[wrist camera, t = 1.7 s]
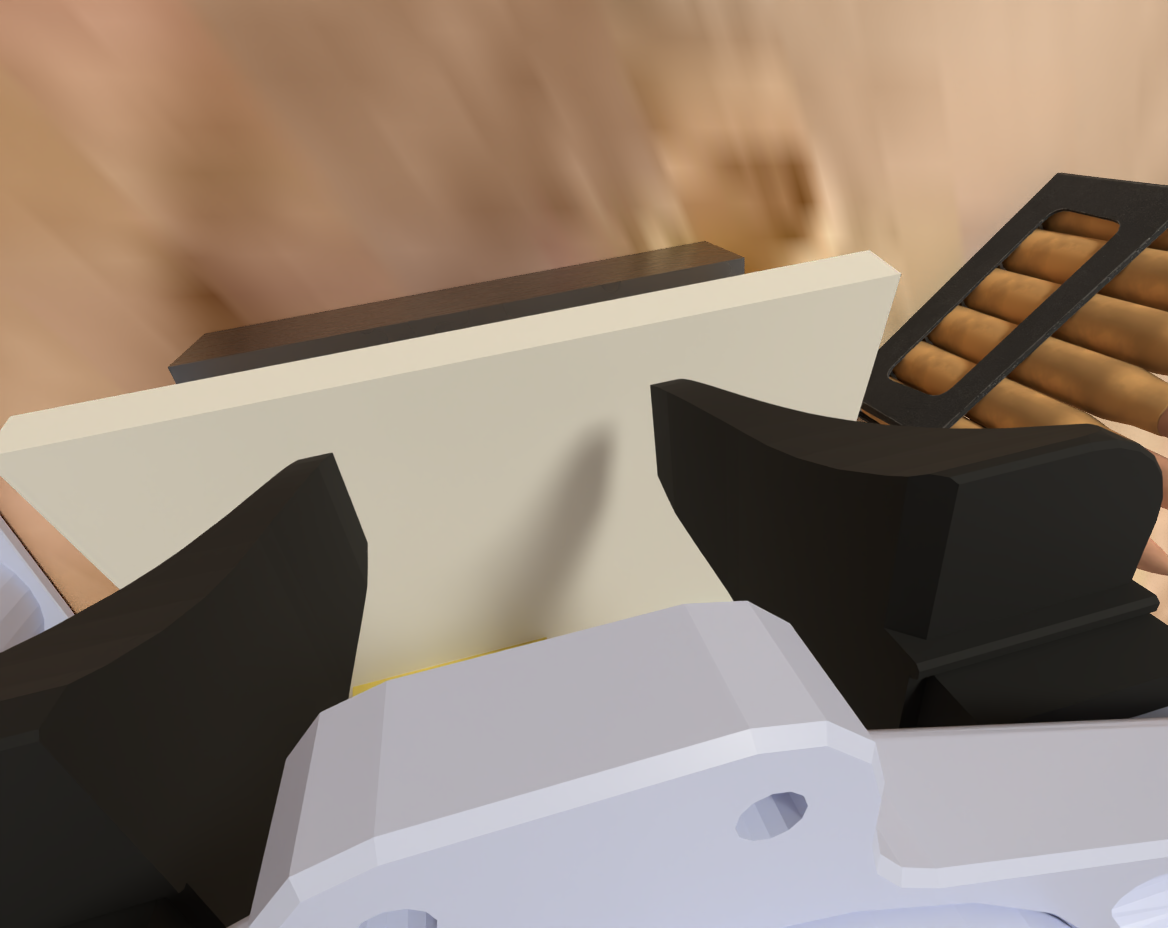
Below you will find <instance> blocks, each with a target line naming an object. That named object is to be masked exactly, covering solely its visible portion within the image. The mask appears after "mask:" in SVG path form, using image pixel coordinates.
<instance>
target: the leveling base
mask: <svg viewBox="0 0 1168 928" xmlns="http://www.w3.org/2000/svg"><path fill="white" fill-rule="evenodd" d="M743 274H744V257H742V256H739V255H737V254H735V253H732V252H730V251H727V250H725V249H723V248H720V247H718V246H715V245H713V244H711V243H708V242H706V241H703V242H698V243H693V244H687V245H682V246H676V247H671V248H666V249H660V250H655V251H649V252H644V253H639V254H633V255H628V256H622V257H617V258H612V259H606V260H601V261H595V262H590V263H585V264H579V265H574V266H568V267H563V268H558V269H552V270H547V271H541V272H536V273H531V274H525V275H520V276H514V277H509V278H504V279H498V280H493V281H487V282H482V283H477V284H471V285H466V286H460V287H455V288H450V289H444V290H439V291H433V292H428V293H423V294H417V295H412V296H406V297H401V298H396V299H390V300H385V301H379V302H374V303H369V304H363V305H358V306H352V307H347V308H342V309H336V310H331V311H325V312H320V313H315V314H309V315H304V316H298V317H293V318H288V319H282V320H277V321H271V322H266V323H261V324H255V325H250V326H244V327H239V328H234V329H228V330H223V331H217V332H212V333H207V334H204V335H203V336H202V337H201V338H199V339H198V340H197V341H196V342H195V343H194V344H193V345H192V346H191V347H190V348H188V349H187V350H186V351H185V352H184V353H183V354H182V355H181V356H180V357H179V358H177V359H176V360H175V361H174V362H173V363H172V364H171V365H170V366H169V367H168V369H169V371H170V372H171V374H172V376H173V378H174V380H175V382H176V384H180V383H185V382H191V381H196V380H201V379H206V378H211V377H216V376H222V375H227V374H232V373H237V372H242V371H247V370H253V369H258V368H263V367H268V366H273V365H278V364H284V363H289V362H294V361H299V360H304V359H309V358H315V357H320V356H325V355H330V354H335V353H340V352H346V351H351V350H356V349H361V348H366V347H371V346H377V345H382V344H387V343H392V342H397V341H402V340H408V339H413V338H418V337H423V336H428V335H433V334H439V333H444V332H449V331H454V330H459V329H464V328H470V327H475V326H480V325H485V324H490V323H495V322H501V321H506V320H511V319H516V318H521V317H526V316H532V315H537V314H542V313H547V312H552V311H557V310H563V309H568V308H573V307H578V306H583V305H588V304H594V303H599V302H604V301H609V300H614V299H619V298H624V297H630V296H635V295H640V294H645V293H650V292H655V291H661V290H666V289H671V288H676V287H681V286H686V285H692V284H697V283H702V282H707V281H712V280H717V279H723V278H728V277H733V276H738V275H743Z"/></svg>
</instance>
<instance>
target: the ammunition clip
mask: <svg viewBox="0 0 1168 928" xmlns="http://www.w3.org/2000/svg"><path fill="white" fill-rule="evenodd" d="M1148 371H1149V372H1148ZM1150 372H1152V373H1156V374H1161V375H1167V376H1168V185H1159V184H1151V183H1142V182H1133V181H1125V180H1116V179H1107V178H1099V177H1091V176H1083V175H1075V174H1067V173H1057V174H1056V175H1055V176H1054V177H1053V178H1052V179H1051V180H1050V181H1049V182H1048V183H1047V184H1046V185H1045V186H1044V187H1043V188H1042V189H1041V190H1040V191H1039V192H1038V193H1037V194H1036V195H1035V196H1034V197H1033V198H1032V199H1031V200H1030V201H1029V202H1028V203H1027V204H1026V205H1025V206H1024V207H1023V208H1022V209H1021V210H1020V211H1019V212H1018V213H1017V214H1016V215H1015V216H1014V217H1013V218H1012V219H1011V220H1010V221H1008V222H1007V223H1006V224H1005V225H1004V226H1003V227H1002V228H1001V229H1000V230H999V231H998V232H997V233H996V234H995V235H994V236H993V237H992V238H991V239H990V240H989V241H988V242H987V243H986V244H985V245H984V246H983V247H982V248H981V249H980V250H979V251H978V252H977V253H976V254H975V255H974V256H973V257H972V258H971V259H970V260H969V261H968V262H967V263H966V264H965V265H964V266H963V267H962V268H961V269H960V270H959V271H958V272H957V273H956V274H955V275H954V276H953V277H952V278H951V279H950V280H949V281H948V282H947V283H946V284H945V285H944V286H943V287H942V288H941V289H940V290H939V291H938V292H937V293H936V294H935V295H934V296H933V297H932V298H931V299H930V300H928V301H927V302H926V303H925V304H924V305H923V306H922V307H921V308H920V309H919V310H918V311H917V312H916V313H915V314H914V315H913V316H912V317H911V318H910V319H909V320H908V321H907V322H906V323H905V324H904V325H903V326H902V327H901V328H900V329H899V330H898V331H897V332H896V333H895V334H894V335H893V336H892V337H891V338H890V339H889V340H888V341H887V342H886V343H885V344H884V345H883V346H882V347H881V348H880V349H879V350H878V352H877V355H876V358H875V362H874V365H873V368H872V372H871V375H870V378H869V381H868V385H867V388H866V391H865V395H864V398H863V401H862V404H861V408H860V411H859V414H858V416H859V417H860V418H861V419H863V420H864V421H866V422H868V423H875V424H885V425H897V426H910V427H926V428H1017V427H1034V426H1051V425H1069V424H1086V423H1087V424H1094V425H1097V426H1101V427H1103V428H1105V429H1107V430H1109V431H1112V432H1114V433H1116V434H1118V435H1121V434H1119V433H1117V432H1115V431H1113V430H1111V429H1109V428H1108V427H1107V426H1105V425H1104V424H1103V423H1101V422H1100V421H1098V420H1097V419H1096V418H1094V417H1093V416H1091V415H1090V414H1092V415H1094V416H1097V417H1099V418H1102V419H1106V420H1110V421H1114V422H1119V423H1123V424H1128V425H1132V426H1135V427H1137V428H1140V429H1143V430H1145V431H1148V432H1151V433H1154V434H1156V435H1159V436H1164V437H1167V438H1168V383H1167V382H1165V381H1163V380H1162V379H1160V378H1158V377H1157V376H1155V375H1153V374H1152V373H1150ZM1070 405H1071V406H1070ZM1077 408H1078V409H1077ZM1084 411H1085V412H1084ZM1086 412H1087V413H1086ZM1088 413H1089V414H1088ZM964 416H966V417H968V418H969V419H970V420H969V419H967V418H966V417H964ZM1121 436H1123V435H1121ZM1123 437H1125V436H1123ZM1125 438H1127V437H1125ZM1127 439H1129V438H1127ZM1130 440H1131V439H1130ZM1132 441H1133V440H1132ZM1134 442H1135V441H1134ZM1136 443H1137V442H1136ZM1147 450H1148V451H1150V452H1151V453H1152V454H1154V455H1155V458H1156V460H1157V462H1158V464H1159V466H1160V468H1161V471H1162V475H1163V500H1162V504H1161V507H1162V508H1165V509H1168V459H1167V458H1166V457H1163V456H1161V455H1159V454H1157V453H1155V452H1153V451H1151V450H1149V449H1147ZM1137 568H1138V569H1141V570H1144V571H1148V572H1151V573H1156V574H1161V575H1167V576H1168V555H1167V554H1166V553H1165V552H1164V551H1163V550H1162V549H1161V548H1160V547H1159V546H1158V545H1157V544H1156V543H1155V542H1154V541H1153V540H1152V539H1151V538H1150V537H1149V540H1148V542H1147V545H1146V547H1145V549H1144V552H1143V554H1142V556H1141V559H1140V561H1139V564H1138V566H1137Z"/></svg>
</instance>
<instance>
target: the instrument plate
mask: <svg viewBox="0 0 1168 928" xmlns="http://www.w3.org/2000/svg"><path fill="white" fill-rule="evenodd" d="M900 277H901V273H900V272H899V271H897V270H896V269H894V268H893V267H892V266H890V265H889V264H888V263H886V262H885V261H884V260H882V259H881V258H879V257H878V256H877V255H875V254H874V253H873V252H871V251H870V250H867V251H862V252H857V253H852V254H847V255H841V256H836V257H831V258H826V259H821V260H816V261H810V262H805V263H800V264H795V265H790V266H785V267H779V268H774V269H769V270H764V271H759V272H754V273H748V274H743V275H738V276H733V277H728V278H723V279H717V280H712V281H707V282H702V283H697V284H692V285H686V286H681V287H676V288H671V289H666V290H661V291H655V292H650V293H645V294H640V295H635V296H630V297H624V298H619V299H614V300H609V301H604V302H599V303H594V304H588V305H583V306H578V307H573V308H568V309H563V310H557V311H552V312H547V313H542V314H537V315H532V316H526V317H521V318H516V319H511V320H506V321H501V322H495V323H490V324H485V325H480V326H475V327H470V328H464V329H459V330H454V331H449V332H444V333H439V334H433V335H428V336H423V337H418V338H413V339H408V340H402V341H397V342H392V343H387V344H382V345H377V346H371V347H366V348H361V349H356V350H351V351H346V352H340V353H335V354H330V355H325V356H320V357H315V358H309V359H304V360H299V361H294V362H289V363H284V364H278V365H273V366H268V367H263V368H258V369H253V370H247V371H242V372H237V373H232V374H227V375H222V376H216V377H211V378H206V379H201V380H196V381H191V382H185V383H180V384H175V385H170V386H165V387H160V388H154V389H149V390H144V391H139V392H134V393H129V394H123V395H118V396H113V397H108V398H103V399H98V400H92V401H87V402H82V403H77V404H72V405H67V406H61V407H56V408H51V409H46V410H41V411H36V412H30V413H25V414H20V415H15V416H10V417H9V419H8V420H7V422H6V423H5V425H4V426H3V427H2V429H1V430H0V476H1V477H2V478H3V479H4V480H5V481H6V482H7V483H8V484H10V485H11V486H12V487H13V488H14V489H15V490H16V491H17V492H18V493H19V494H20V495H21V496H22V497H23V498H24V499H25V500H26V501H27V502H28V503H30V504H31V505H32V506H33V507H34V508H35V509H36V510H37V511H38V512H39V513H40V514H41V515H42V516H43V517H44V518H45V519H46V520H47V521H48V522H49V523H51V524H52V525H53V526H54V527H55V528H56V529H57V530H58V531H59V532H60V533H61V534H62V535H63V536H64V537H65V538H66V539H67V540H68V541H69V542H70V543H72V544H73V545H74V546H75V547H76V548H77V549H78V550H79V551H80V552H81V553H82V554H83V555H84V556H85V557H86V558H87V559H88V560H89V561H90V562H91V563H93V564H94V565H95V566H96V567H97V568H98V569H99V570H100V571H101V572H102V573H103V574H104V575H105V576H106V577H107V578H108V579H109V580H110V581H111V582H112V583H114V584H115V585H116V586H117V587H118V588H119V589H122V588H124V587H125V586H127V585H128V584H130V583H132V582H133V581H135V580H136V579H138V578H139V577H141V576H143V575H144V574H146V573H147V572H149V571H151V570H152V569H154V568H155V567H157V566H158V565H160V564H161V563H163V562H164V561H166V560H167V559H169V558H170V557H172V556H173V555H174V554H176V553H177V552H179V551H180V550H181V549H183V548H184V547H186V546H187V545H188V544H189V543H191V542H192V541H193V540H195V539H196V538H197V537H199V536H200V535H201V534H203V533H204V532H205V531H207V530H208V529H209V528H210V527H212V526H213V525H214V524H216V523H217V522H218V521H220V520H221V519H222V518H224V517H225V516H226V515H227V514H229V513H230V512H231V511H232V510H234V509H235V508H236V507H237V506H238V505H240V504H241V503H242V502H243V501H244V500H246V499H247V498H248V497H249V496H251V495H252V494H253V493H254V492H255V491H257V490H258V489H259V488H260V487H261V486H263V485H264V484H265V483H266V482H268V481H269V480H270V479H271V478H272V477H274V476H275V475H276V474H278V473H279V472H280V471H281V470H283V469H284V468H285V467H287V466H288V465H290V464H291V463H293V462H295V461H297V460H299V459H304V458H308V457H313V456H318V455H322V454H327V453H332V452H333V455H334V457H335V460H336V462H337V465H338V468H339V470H340V473H341V475H342V478H343V480H344V483H345V486H346V488H347V491H348V493H349V496H350V498H351V501H352V503H353V506H354V509H355V511H356V514H357V516H358V519H359V521H360V524H361V527H362V529H363V532H364V534H365V537H366V539H367V542H368V583H367V593H366V600H365V606H364V612H363V618H362V624H361V629H360V635H359V641H358V646H357V652H356V658H355V663H354V669H353V675H352V680H351V686H350V692H349V698H352V697H354V696H356V695H358V694H360V693H362V692H364V691H366V690H368V689H370V688H373V687H375V686H377V685H379V684H381V683H383V682H385V681H388V680H391V679H395V678H399V677H403V676H407V675H411V674H415V673H418V672H422V671H426V670H430V669H434V668H438V667H442V666H445V665H449V664H453V663H457V662H461V661H465V660H469V659H473V658H476V657H480V656H484V655H488V654H492V653H496V652H500V651H503V650H507V649H511V648H515V647H519V646H523V645H527V644H530V643H534V642H538V641H542V640H546V639H550V638H554V637H557V636H561V635H565V634H569V633H573V632H577V631H581V630H585V629H588V628H592V627H596V626H600V625H604V624H608V623H612V622H615V621H619V620H623V619H627V618H631V617H635V616H639V615H642V614H646V613H650V612H654V611H658V610H662V609H666V608H669V607H673V606H677V605H681V604H690V603H710V602H731V601H733V600H732V598H731V596H730V595H729V593H728V591H727V590H726V588H725V587H724V586H723V584H722V583H721V581H720V580H719V578H718V577H717V575H716V574H715V572H714V571H713V569H712V568H711V566H710V565H709V563H708V562H707V560H706V559H705V557H704V556H703V555H702V553H701V552H700V550H699V549H698V547H697V546H696V544H695V543H694V541H693V540H692V538H691V537H690V535H689V534H688V532H687V531H686V529H685V528H684V526H683V525H682V523H681V522H680V520H679V519H678V517H677V515H676V514H675V512H674V510H673V508H672V506H671V504H670V502H669V500H668V498H667V496H666V493H665V491H664V489H663V487H662V484H661V482H660V480H659V478H658V475H657V463H656V451H655V439H654V427H653V415H652V403H651V391H650V385H652V384H657V383H661V382H666V381H671V380H676V379H688V380H693V381H697V382H700V383H704V384H707V385H711V386H714V387H717V388H720V389H723V390H727V391H730V392H733V393H736V394H739V395H743V396H746V397H749V398H753V399H756V400H759V401H763V402H766V403H770V404H774V405H777V406H781V407H785V408H790V409H794V410H798V411H802V412H806V413H811V414H816V415H821V416H826V417H833V418H839V419H845V420H851V421H857V417H858V414H859V411H860V408H861V404H862V401H863V398H864V395H865V391H866V388H867V385H868V381H869V378H870V375H871V372H872V368H873V365H874V362H875V358H876V355H877V352H878V349H879V345H880V342H881V339H882V336H883V332H884V329H885V326H886V322H887V319H888V316H889V313H890V309H891V306H892V303H893V300H894V296H895V293H896V290H897V286H898V283H899V280H900Z"/></svg>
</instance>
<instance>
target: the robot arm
mask: <svg viewBox="0 0 1168 928" xmlns="http://www.w3.org/2000/svg"><path fill="white" fill-rule="evenodd" d="M650 391H651V403H652V415H653V427H654V439H655V451H656V463H657V475H658V478H659V480H660V482H661V484H662V487H663V489H664V491H665V493H666V496H667V498H668V500H669V502H670V504H671V506H672V508H673V510H674V512H675V514H676V515H677V517H678V519H679V520H680V522H681V523H682V525H683V526H684V528H685V529H686V531H687V532H688V534H689V535H690V537H691V538H692V540H693V541H694V543H695V544H696V546H697V547H698V549H699V550H700V552H701V553H702V555H703V556H704V557H705V559H706V560H707V562H708V563H709V565H710V566H711V568H712V569H713V571H714V572H715V574H716V575H717V577H718V578H719V580H720V581H721V583H722V584H723V586H724V587H725V588H726V590H727V591H728V593H729V595H730V596H731V598H732V600H733V601H731V602H710V603H690V604H681V605H677V606H673V607H669V608H666V609H662V610H658V611H654V612H650V613H646V614H642V615H639V616H635V617H631V618H627V619H623V620H619V621H615V622H612V623H608V624H604V625H600V626H596V627H592V628H588V629H585V630H581V631H577V632H573V633H569V634H565V635H561V636H557V637H554V638H550V639H546V640H542V641H538V642H534V643H530V644H527V645H523V646H519V647H515V648H511V649H507V650H503V651H500V652H496V653H492V654H488V655H484V656H480V657H476V658H473V659H469V660H465V661H461V662H457V663H453V664H449V665H445V666H442V667H438V668H434V669H430V670H426V671H422V672H418V673H415V674H411V675H407V676H403V677H399V678H395V679H391V680H388V681H385V682H383V683H381V684H379V685H377V686H375V687H373V688H370V689H368V690H366V691H364V692H362V693H360V694H358V695H356V696H354V697H352V698H349V692H350V686H351V680H352V675H353V669H354V663H355V658H356V652H357V646H358V641H359V635H360V629H361V624H362V618H363V612H364V606H365V600H366V593H367V583H368V542H367V539H366V537H365V534H364V532H363V529H362V527H361V524H360V521H359V519H358V516H357V514H356V511H355V509H354V506H353V503H352V501H351V498H350V496H349V493H348V491H347V488H346V486H345V483H344V480H343V478H342V475H341V473H340V470H339V468H338V465H337V462H336V460H335V457H334V455H333V452H332V453H327V454H322V455H318V456H313V457H308V458H304V459H299V460H297V461H295V462H293V463H291V464H290V465H288V466H287V467H285V468H284V469H283V470H281V471H280V472H279V473H278V474H276V475H275V476H274V477H272V478H271V479H270V480H269V481H268V482H266V483H265V484H264V485H263V486H261V487H260V488H259V489H258V490H257V491H255V492H254V493H253V494H252V495H251V496H249V497H248V498H247V499H246V500H244V501H243V502H242V503H241V504H240V505H238V506H237V507H236V508H235V509H234V510H232V511H231V512H230V513H229V514H227V515H226V516H225V517H224V518H222V519H221V520H220V521H218V522H217V523H216V524H214V525H213V526H212V527H210V528H209V529H208V530H207V531H205V532H204V533H203V534H201V535H200V536H199V537H197V538H196V539H195V540H193V541H192V542H191V543H189V544H188V545H187V546H186V547H184V548H183V549H181V550H180V551H179V552H177V553H176V554H174V555H173V556H172V557H170V558H169V559H167V560H166V561H164V562H163V563H161V564H160V565H158V566H157V567H155V568H154V569H152V570H151V571H149V572H147V573H146V574H144V575H143V576H141V577H139V578H138V579H136V580H135V581H133V582H132V583H130V584H128V585H127V586H125V587H124V588H122V589H120V590H119V591H117V592H115V593H114V594H112V595H110V596H108V597H106V598H105V599H103V600H101V601H99V602H97V603H95V604H94V605H92V606H90V607H88V608H86V609H84V610H83V611H81V612H79V613H77V614H74V613H73V612H72V610H71V609H70V608H69V606H68V605H67V604H66V602H65V601H64V600H63V598H62V597H61V596H60V594H59V593H58V592H57V590H56V589H55V588H54V586H53V585H52V584H51V582H50V581H49V580H48V578H47V577H46V576H45V574H44V573H43V572H42V570H41V569H40V568H39V566H38V565H37V564H36V562H35V561H34V560H33V558H32V557H31V556H30V554H29V553H28V552H27V550H26V549H25V548H24V546H23V545H22V544H21V542H20V541H19V540H18V538H17V537H16V536H15V534H14V533H13V532H12V530H11V529H10V528H9V526H8V525H7V524H6V522H5V521H4V520H3V518H2V517H1V516H0V928H1168V625H1166V624H1165V623H1163V622H1162V621H1160V620H1159V619H1157V618H1156V617H1155V616H1153V615H1152V614H1150V613H1151V612H1154V611H1156V610H1157V608H1158V606H1159V604H1160V602H1159V600H1158V598H1157V596H1156V595H1155V594H1153V593H1152V592H1150V591H1149V590H1147V589H1146V588H1144V587H1143V586H1141V585H1139V584H1138V583H1136V582H1135V581H1133V580H1132V578H1133V576H1134V573H1135V571H1136V568H1137V566H1138V564H1139V561H1140V559H1141V556H1142V554H1143V552H1144V549H1145V547H1146V545H1147V542H1148V540H1149V537H1150V535H1151V533H1152V530H1153V528H1154V525H1155V523H1156V521H1157V517H1158V514H1159V511H1160V507H1161V504H1162V500H1163V475H1162V471H1161V468H1160V466H1159V464H1158V462H1157V460H1156V458H1155V455H1154V454H1152V453H1151V452H1150V451H1148V450H1147V449H1146V448H1144V447H1143V446H1141V445H1140V444H1138V443H1136V442H1134V441H1132V440H1130V439H1127V438H1125V437H1123V436H1121V435H1118V434H1116V433H1114V432H1112V431H1109V430H1107V429H1105V428H1103V427H1101V426H1097V425H1094V424H1087V423H1086V424H1069V425H1051V426H1034V427H1017V428H926V427H910V426H897V425H885V424H875V423H866V422H858V421H851V420H845V419H839V418H833V417H826V416H821V415H816V414H811V413H806V412H802V411H798V410H794V409H790V408H785V407H781V406H777V405H774V404H770V403H766V402H763V401H759V400H756V399H753V398H749V397H746V396H743V395H739V394H736V393H733V392H730V391H727V390H723V389H720V388H717V387H714V386H711V385H707V384H704V383H700V382H697V381H693V380H688V379H676V380H671V381H666V382H661V383H657V384H652V385H650Z"/></svg>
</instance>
